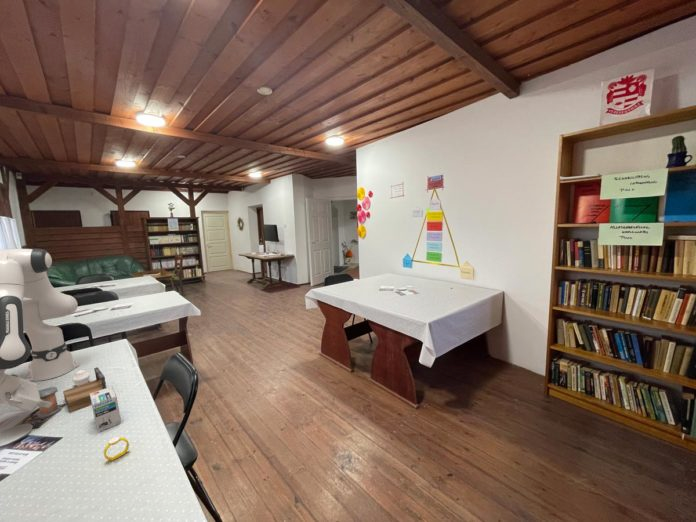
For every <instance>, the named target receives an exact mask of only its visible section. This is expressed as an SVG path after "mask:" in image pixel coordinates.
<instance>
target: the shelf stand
mask: <svg viewBox="0 0 696 522" xmlns="http://www.w3.org/2000/svg"><path fill="white" fill-rule="evenodd" d="M93 370H94V374H95V379H94V380H92V381H88V383H85V384H83V385H80V386H77V385H76V386H75V387H71V388H68V389H65V390H63V392H62V393H63V398H64V401H65V402H66V403H67V405H68V411H69V413H74V412H76V411H79V410H81V409H84V408H86V407H90V406H92V404H91V399H90V394H91V393H94V392H97V391H100V390H103V389H106V388H107V384H106V378H105V375H104V374H103V372H102V371H101V370H100V368H99V367H98V366H97V367H95V368H94V367H93Z"/></svg>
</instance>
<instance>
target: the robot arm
mask: <svg viewBox="0 0 696 522" xmlns="http://www.w3.org/2000/svg"><path fill="white" fill-rule="evenodd" d="M52 263H53V259H52V256H51V254H50V252H49V251H47V250H46V249H41V248H11V249H10V248H9V249H7V248H6V249H0V405H1V404H3V403H4V402H6V401H7V403H8V405H10V406H12V407H15V408H18V409H21V410H25V411H35V410H36V409H37V408H39V407H46V408H49V407H50V406H51V405H52V402H51V401H43V400H41V399H40V395H39V391H41V390H42V389H40V388H39V387H38V384H37V383H35V382H40V381H45V380H46V381H47V380H51V379H54V378H58V377H60V376H63V375H66V374H68V373H69V372H71V371H73V370H74V369H77V368H78V367H80V363H78V362H76V361H74V357H73V353H72V352H71V351H69V350H67V349H68V347H67V344H66V342H65V340H64V334H63V329H61V328H60V326H56V325H50V324H47V323H45V322H44V321H48V320H52V319H59V318H63V317H66V316H69V315H73V314H74V313H75V312H76V311H77V308H78V306H79V305H78V301H77V299H76V298H75V297H74V296H72V295H69V294H65V293H63V292H61V291H59V290H58V289H56V288H55V287H54V286H53V285H52V283H51V282H50V279H49V276H48V273H47V272H48V271H49V270H50V269H51V267H52ZM24 298H26V299H24ZM24 333H25V334H26V335H27V337H28V340H29V342H30V343H29V342H28V341H27V339H26V337H25V334H24ZM30 345H31V346H30ZM30 356H31V357H32V360H31V361H30V363H28V369H29V373H28V376H27V377H26V379H25V378H22V377H20V376H19V375H18V374H16V373H15V374H14V373H11V374H9V373H8V374H7V373H5V372H6V371H7V370H10V369H14V368H16V367H17V368H18V367H19V366H21V365H22V364H24V363H25V362H26V361H27V360H28V359H29V357H30ZM34 381H35V382H34Z"/></svg>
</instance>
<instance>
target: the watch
mask: <svg viewBox="0 0 696 522" xmlns="http://www.w3.org/2000/svg"><path fill="white" fill-rule="evenodd" d="M121 441H124V442H125V443H126V446H125V448H124V450H123V451H120V452H119V453H118V454H116V455H114V456H108V455H107V453H108V452H107V451H108V449H109V448H110V447H111V446H114V445H117V444H118V443H119V442H121ZM129 447H130V443H129V441H128V439H127V438H126V437H121V436H115V437H113V438H111V439H109V441H108V443H107V445H105V446H104V449H103V455H104V458H105V459H106V460H107V461H115V460H116V459H118V458H120V457H122V456H123V455H125V454H126V453H127V452H128V450H129ZM114 459H115V460H114Z"/></svg>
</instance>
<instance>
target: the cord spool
mask: <svg viewBox="0 0 696 522" xmlns="http://www.w3.org/2000/svg"><path fill="white" fill-rule="evenodd" d="M40 390H41V391H39V395H40V399H41V400H43V401H51V402H52V405H51V406H50V407H49V408H46V407H38V408H39V412H38V413H37V418H38V419H46V418H49V417H52V416H55V415H56V414H58V413H60V412H61V410H62V406H61V405H58V401H57V395H56V393H57V392H58V387H56V386H51V387H46V388H43V389H40Z"/></svg>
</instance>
